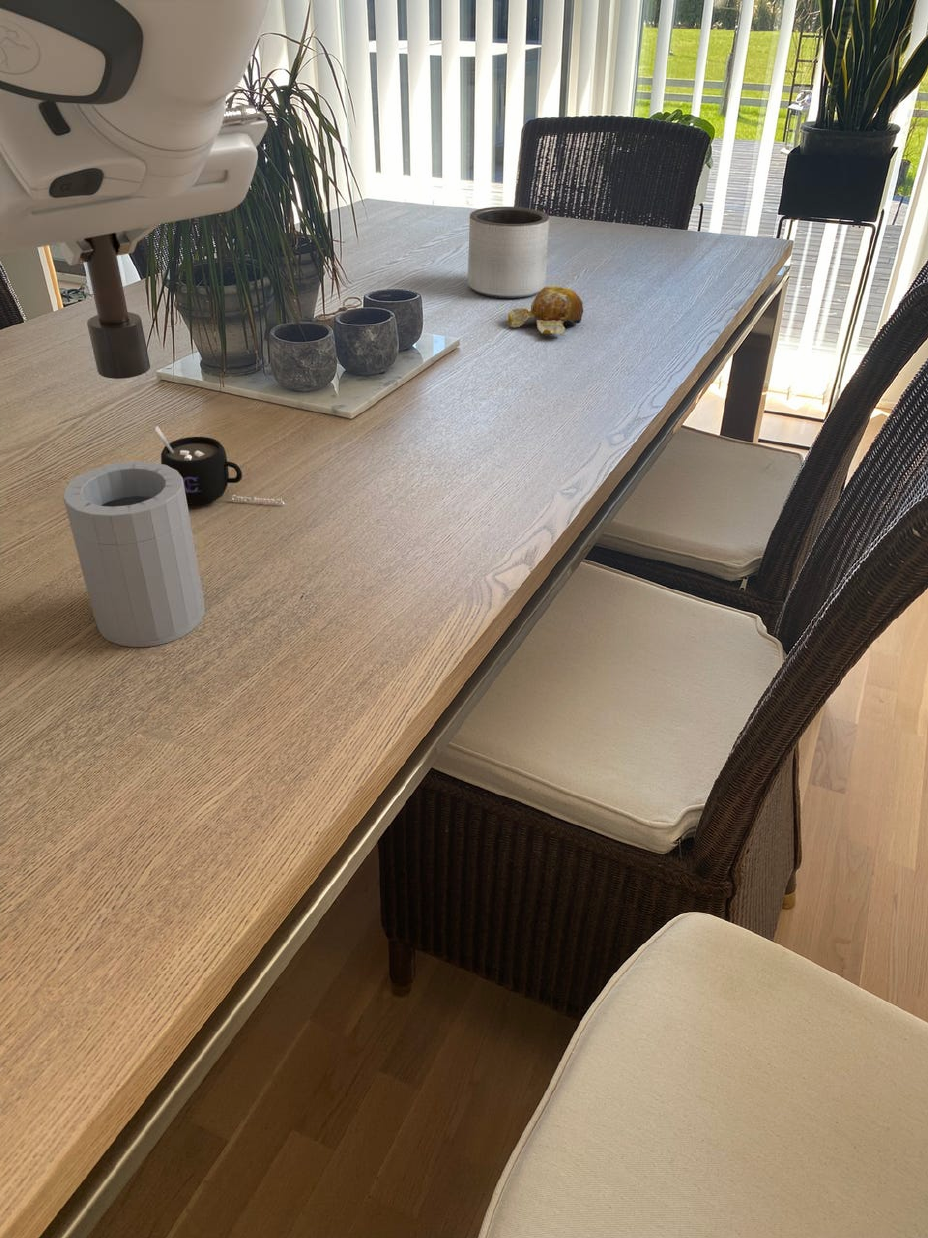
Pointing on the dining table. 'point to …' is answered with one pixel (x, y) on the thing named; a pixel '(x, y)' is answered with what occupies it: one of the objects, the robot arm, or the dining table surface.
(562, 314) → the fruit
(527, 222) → the planter
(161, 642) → the gray cylindrical container
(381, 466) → the dining table surface
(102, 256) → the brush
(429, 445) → the dining table surface
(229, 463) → the mug
